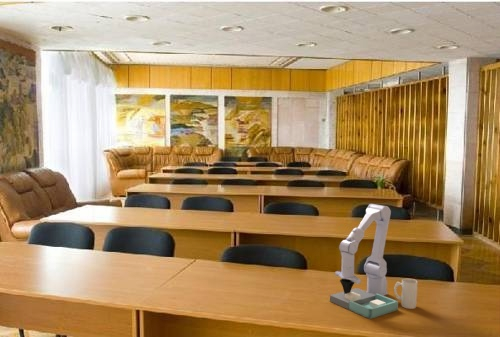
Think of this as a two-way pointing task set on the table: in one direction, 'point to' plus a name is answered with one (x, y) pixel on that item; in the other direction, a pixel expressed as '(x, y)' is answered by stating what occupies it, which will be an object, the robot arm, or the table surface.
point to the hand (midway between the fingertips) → (347, 294)
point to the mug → (407, 292)
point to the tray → (374, 311)
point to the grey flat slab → (343, 302)
